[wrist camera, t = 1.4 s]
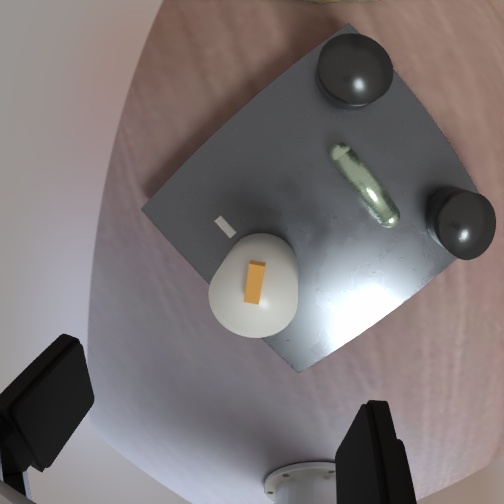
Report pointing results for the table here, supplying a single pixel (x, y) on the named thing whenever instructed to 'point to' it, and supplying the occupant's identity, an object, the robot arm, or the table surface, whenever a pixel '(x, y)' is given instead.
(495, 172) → the table surface
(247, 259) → the oval dial with ridge
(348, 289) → the base
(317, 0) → the pastry
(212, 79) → the table surface
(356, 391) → the table surface
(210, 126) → the table surface
